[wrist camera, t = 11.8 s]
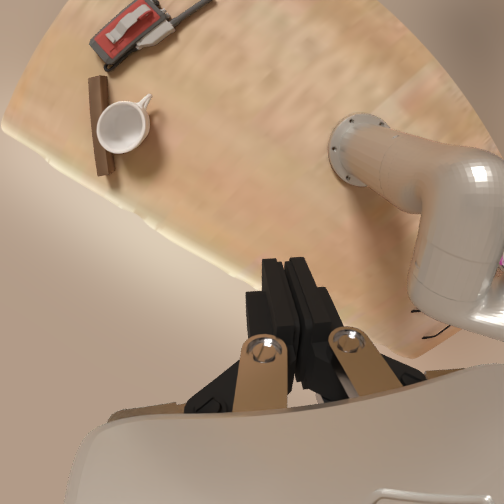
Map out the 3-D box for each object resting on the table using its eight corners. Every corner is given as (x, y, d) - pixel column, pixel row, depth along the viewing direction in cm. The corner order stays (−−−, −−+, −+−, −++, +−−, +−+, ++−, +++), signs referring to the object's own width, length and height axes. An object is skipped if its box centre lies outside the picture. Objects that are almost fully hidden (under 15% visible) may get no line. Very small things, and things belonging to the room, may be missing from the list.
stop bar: (107, 76, 37) (99, 75, 34) (115, 170, 45) (108, 174, 42) (96, 78, 37) (88, 78, 34) (104, 171, 44) (97, 176, 42)
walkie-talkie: (117, 81, 38) (218, 2, 33) (107, 80, 34) (217, -7, 29) (88, 48, 34) (185, -29, 30) (76, 45, 30) (182, -40, 26)
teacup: (133, 157, 44) (123, 164, 39) (100, 129, 41) (87, 133, 36) (173, 109, 41) (167, 110, 36) (139, 80, 38) (128, 78, 33)
